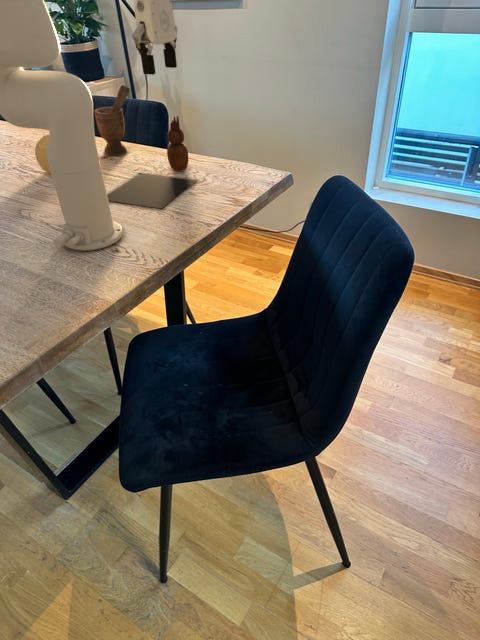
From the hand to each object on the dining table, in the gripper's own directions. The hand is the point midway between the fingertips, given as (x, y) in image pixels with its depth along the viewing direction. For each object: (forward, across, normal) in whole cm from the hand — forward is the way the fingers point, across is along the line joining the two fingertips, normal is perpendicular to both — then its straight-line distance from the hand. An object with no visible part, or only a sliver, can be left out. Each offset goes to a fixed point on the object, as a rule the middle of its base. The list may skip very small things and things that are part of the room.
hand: (160, 70), depth 107 cm
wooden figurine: (+27, +4, +1) cm, 27 cm away
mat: (+26, -12, 0) cm, 29 cm away
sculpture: (+26, -10, +33) cm, 43 cm away
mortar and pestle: (+27, +12, +27) cm, 40 cm away
